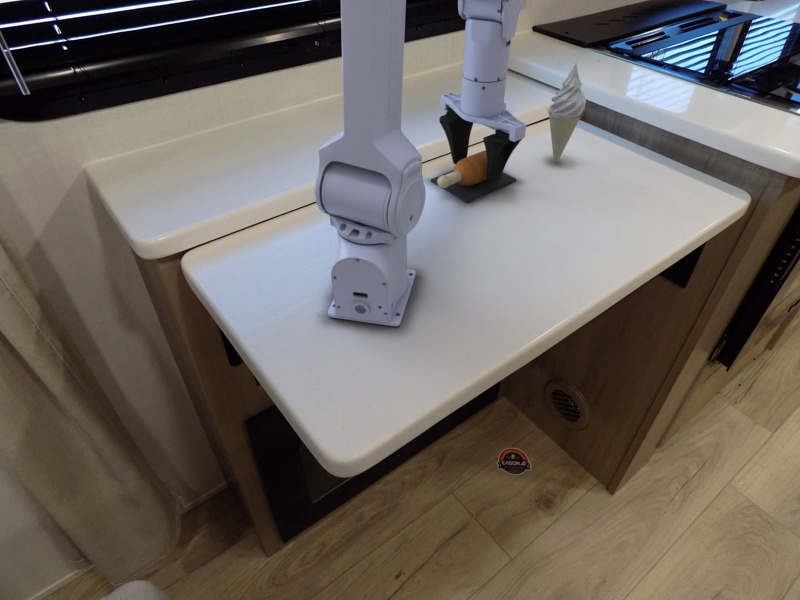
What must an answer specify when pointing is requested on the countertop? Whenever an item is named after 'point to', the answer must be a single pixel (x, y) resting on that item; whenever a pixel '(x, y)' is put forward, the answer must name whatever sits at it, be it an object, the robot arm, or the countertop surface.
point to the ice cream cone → (566, 112)
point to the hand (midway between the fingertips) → (476, 170)
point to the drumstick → (466, 171)
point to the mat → (476, 187)
